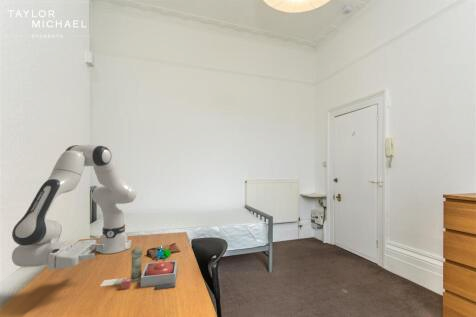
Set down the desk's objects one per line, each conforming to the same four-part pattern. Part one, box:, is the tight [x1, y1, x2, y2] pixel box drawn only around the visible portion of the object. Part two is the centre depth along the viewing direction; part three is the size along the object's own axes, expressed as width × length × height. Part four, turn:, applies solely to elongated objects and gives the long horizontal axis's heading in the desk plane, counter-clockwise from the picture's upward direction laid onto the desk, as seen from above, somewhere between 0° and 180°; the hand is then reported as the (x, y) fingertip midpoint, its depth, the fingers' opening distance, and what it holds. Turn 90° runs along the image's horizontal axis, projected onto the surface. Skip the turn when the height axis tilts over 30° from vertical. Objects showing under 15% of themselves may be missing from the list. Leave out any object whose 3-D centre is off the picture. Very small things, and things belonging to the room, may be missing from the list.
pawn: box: [129, 246, 143, 283], centre depth 98 cm, size 5×5×14 cm
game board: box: [99, 260, 178, 291], centre depth 98 cm, size 16×31×5 cm, turn 102°
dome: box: [147, 261, 173, 276], centre depth 100 cm, size 11×11×6 cm
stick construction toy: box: [151, 246, 172, 262], centre depth 123 cm, size 12×7×8 cm
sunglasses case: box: [146, 242, 181, 260], centre depth 131 cm, size 18×7×7 cm
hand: (99, 250), depth 94 cm, fingers open, 8 cm apart
